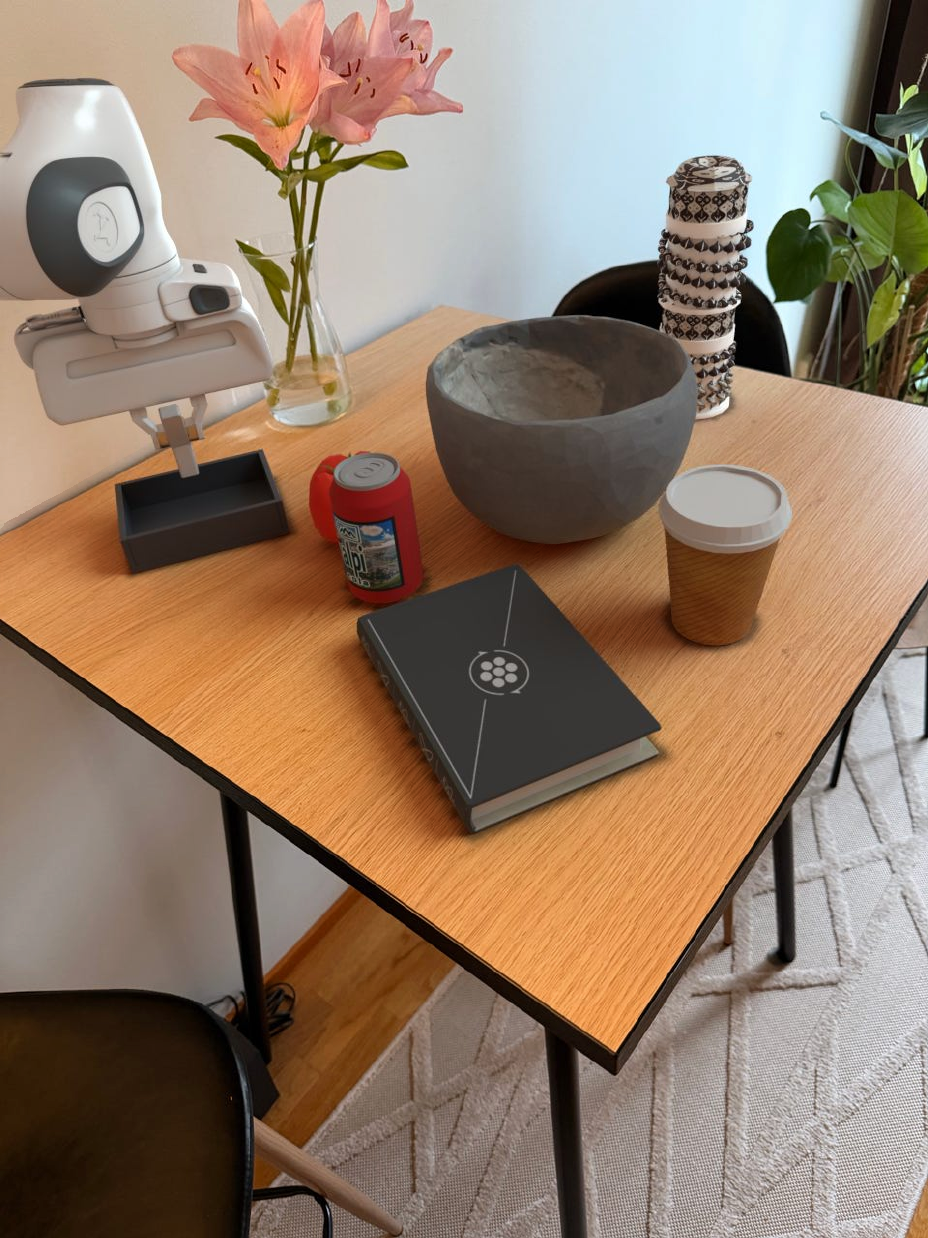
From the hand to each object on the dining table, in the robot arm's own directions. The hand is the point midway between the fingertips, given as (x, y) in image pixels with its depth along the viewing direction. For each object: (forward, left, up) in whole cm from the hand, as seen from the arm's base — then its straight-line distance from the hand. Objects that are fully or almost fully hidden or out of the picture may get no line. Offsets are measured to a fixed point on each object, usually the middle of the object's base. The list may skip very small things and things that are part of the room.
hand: (180, 441), depth 85 cm
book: (+18, -35, -10) cm, 40 cm away
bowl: (+33, -13, -10) cm, 37 cm away
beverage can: (+14, -18, -10) cm, 25 cm away
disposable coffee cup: (+37, -34, -10) cm, 51 cm away
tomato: (+14, -9, -10) cm, 19 cm away
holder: (0, 0, -9) cm, 9 cm away
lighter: (0, 0, -4) cm, 4 cm away
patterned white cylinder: (+55, 0, -10) cm, 56 cm away
